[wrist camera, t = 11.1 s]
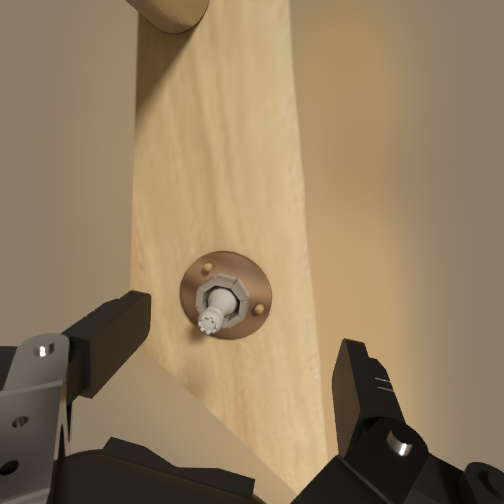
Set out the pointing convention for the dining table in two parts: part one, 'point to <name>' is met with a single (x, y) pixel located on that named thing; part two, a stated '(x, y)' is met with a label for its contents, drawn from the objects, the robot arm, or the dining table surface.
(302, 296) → the dining table surface
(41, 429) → the robot arm
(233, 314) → the carrier disc
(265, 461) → the dining table surface
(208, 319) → the rook chess piece
